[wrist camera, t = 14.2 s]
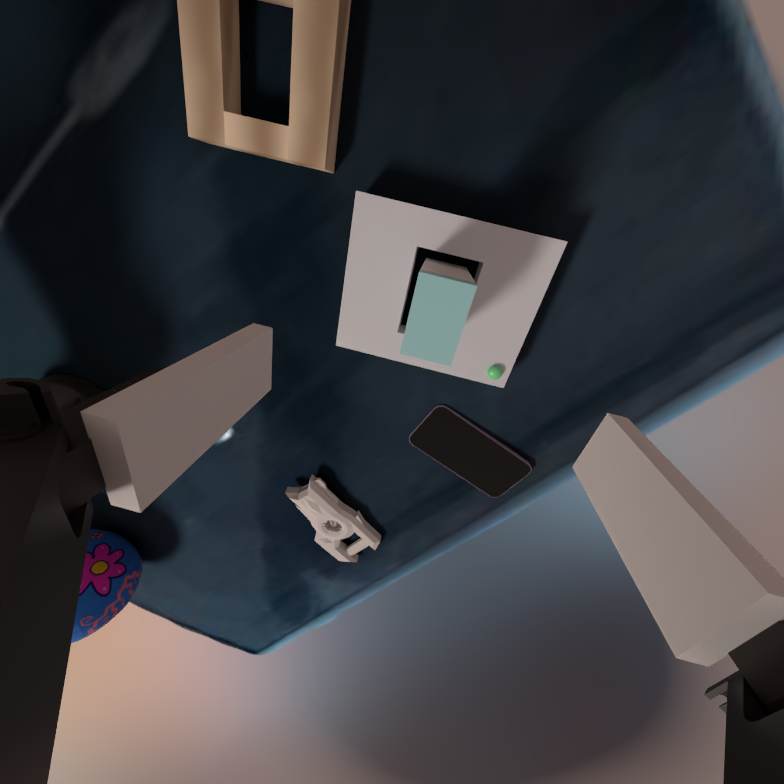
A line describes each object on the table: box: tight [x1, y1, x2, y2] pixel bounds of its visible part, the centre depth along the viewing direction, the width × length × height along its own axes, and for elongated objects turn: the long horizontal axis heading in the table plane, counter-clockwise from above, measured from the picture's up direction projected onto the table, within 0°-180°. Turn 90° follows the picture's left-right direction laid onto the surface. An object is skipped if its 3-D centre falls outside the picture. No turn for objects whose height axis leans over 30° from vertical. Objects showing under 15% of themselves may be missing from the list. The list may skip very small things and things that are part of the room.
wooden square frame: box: [177, 0, 351, 173], centre depth 25 cm, size 12×12×2 cm
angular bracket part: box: [285, 474, 381, 562], centre depth 49 cm, size 18×3×10 cm
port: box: [336, 191, 567, 388], centre depth 31 cm, size 18×14×3 cm
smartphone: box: [409, 405, 532, 498], centre depth 41 cm, size 7×1×15 cm
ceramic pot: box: [71, 529, 142, 643], centre depth 56 cm, size 18×18×15 cm
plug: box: [400, 258, 477, 366], centre depth 27 cm, size 4×6×11 cm, turn 168°
